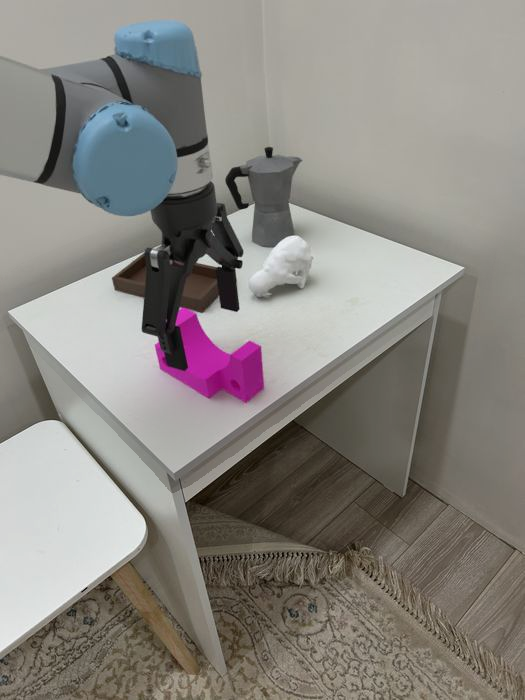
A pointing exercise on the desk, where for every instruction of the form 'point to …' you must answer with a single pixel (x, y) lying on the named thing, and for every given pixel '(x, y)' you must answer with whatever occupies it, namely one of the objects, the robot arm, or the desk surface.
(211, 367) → the magenta curved bracket
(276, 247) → the white lumpy piece
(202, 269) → the dark brown rectangular tray
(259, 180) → the coffeepot
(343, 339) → the desk surface
